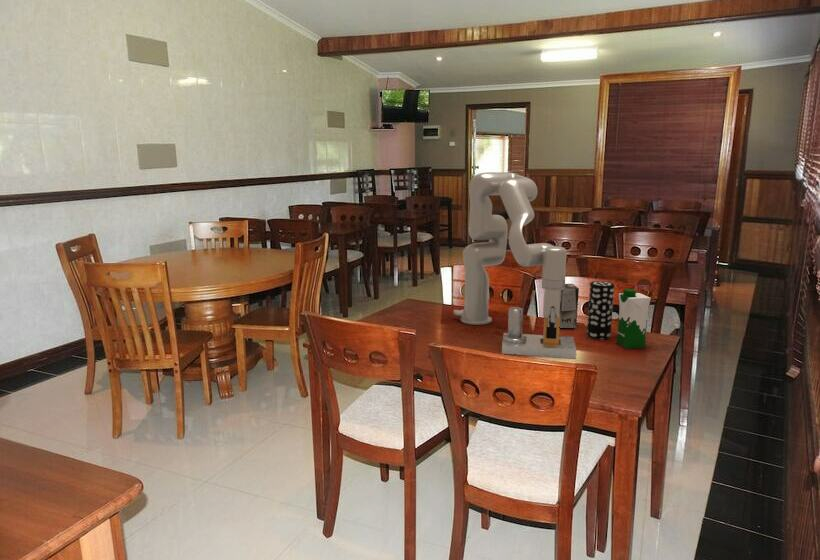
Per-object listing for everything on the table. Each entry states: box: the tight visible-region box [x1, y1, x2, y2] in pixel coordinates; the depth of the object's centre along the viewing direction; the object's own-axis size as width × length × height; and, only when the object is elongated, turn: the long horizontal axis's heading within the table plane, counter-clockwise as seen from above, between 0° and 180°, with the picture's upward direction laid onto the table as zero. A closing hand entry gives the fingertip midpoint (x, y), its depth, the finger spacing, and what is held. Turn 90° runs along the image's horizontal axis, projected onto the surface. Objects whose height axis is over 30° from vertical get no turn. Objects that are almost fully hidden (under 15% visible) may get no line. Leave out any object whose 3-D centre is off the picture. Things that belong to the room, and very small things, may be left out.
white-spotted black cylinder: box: [586, 280, 615, 341], centre depth 208 cm, size 8×8×20 cm
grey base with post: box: [501, 306, 577, 359], centre depth 195 cm, size 24×14×14 cm, turn 78°
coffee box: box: [559, 283, 580, 329], centre depth 222 cm, size 9×6×16 cm
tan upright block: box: [542, 315, 560, 345], centre depth 194 cm, size 5×4×10 cm
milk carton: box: [615, 288, 652, 350], centre depth 198 cm, size 9×9×20 cm
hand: (550, 335), depth 194 cm, fingers closed on tan upright block, 4 cm apart
